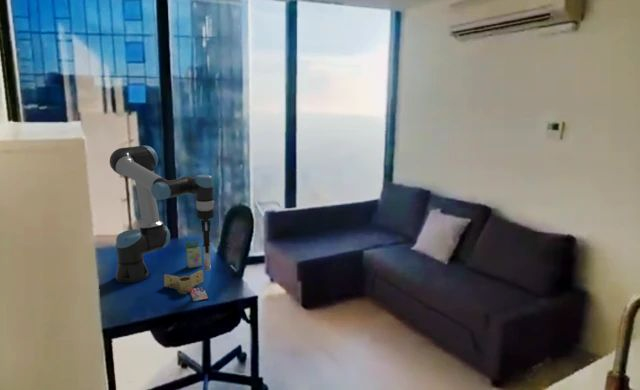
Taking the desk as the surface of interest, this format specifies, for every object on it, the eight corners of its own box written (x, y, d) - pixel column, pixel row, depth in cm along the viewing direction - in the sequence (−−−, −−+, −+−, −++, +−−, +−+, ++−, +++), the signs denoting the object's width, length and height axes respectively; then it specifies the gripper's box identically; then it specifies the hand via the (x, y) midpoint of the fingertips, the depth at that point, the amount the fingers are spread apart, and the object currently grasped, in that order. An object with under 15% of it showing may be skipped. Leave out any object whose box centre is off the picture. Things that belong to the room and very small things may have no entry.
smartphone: (192, 301, 200) (187, 288, 214) (192, 303, 200) (187, 290, 214) (209, 298, 203) (203, 285, 217) (209, 300, 203) (203, 287, 217)
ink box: (188, 268, 238) (187, 244, 235) (186, 266, 242) (185, 242, 239) (202, 266, 242) (200, 242, 239) (199, 263, 245) (198, 240, 242)
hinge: (164, 286, 217) (163, 274, 215) (195, 276, 228) (194, 265, 227) (180, 296, 206) (179, 284, 205) (211, 285, 218) (210, 274, 216)
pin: (203, 269, 212) (201, 239, 209) (208, 267, 214) (207, 237, 211) (206, 271, 210) (205, 240, 207) (212, 269, 212) (211, 239, 209)
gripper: (214, 213, 199) (216, 263, 204) (212, 204, 214) (214, 250, 219) (196, 214, 197) (199, 264, 202) (196, 204, 212) (198, 252, 217)
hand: (207, 257), depth 211 cm, fingers closed on pin, 3 cm apart
